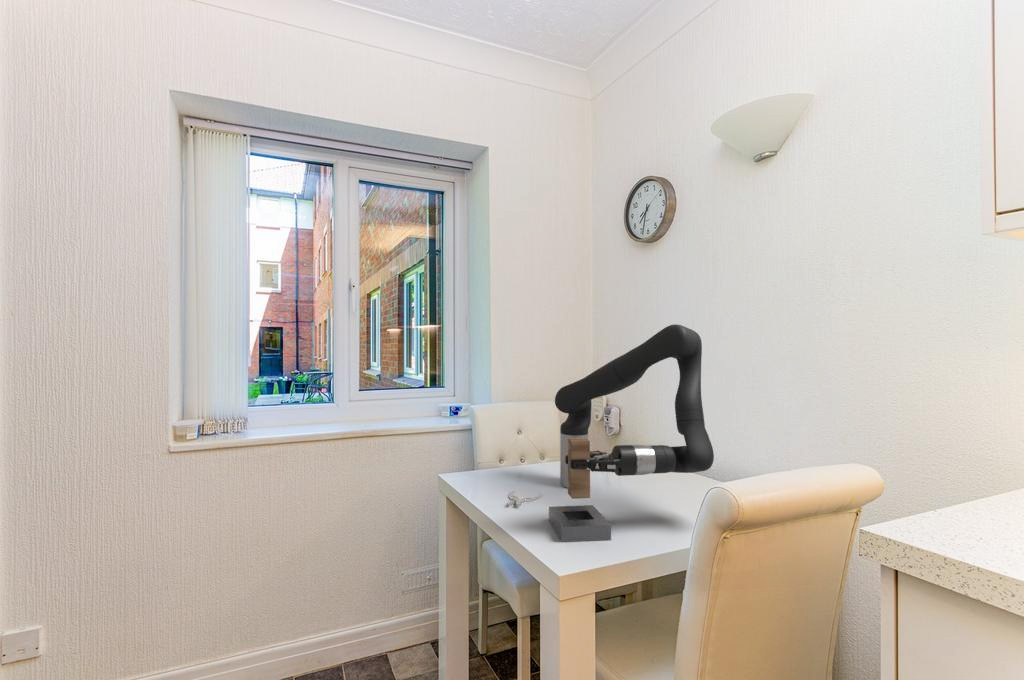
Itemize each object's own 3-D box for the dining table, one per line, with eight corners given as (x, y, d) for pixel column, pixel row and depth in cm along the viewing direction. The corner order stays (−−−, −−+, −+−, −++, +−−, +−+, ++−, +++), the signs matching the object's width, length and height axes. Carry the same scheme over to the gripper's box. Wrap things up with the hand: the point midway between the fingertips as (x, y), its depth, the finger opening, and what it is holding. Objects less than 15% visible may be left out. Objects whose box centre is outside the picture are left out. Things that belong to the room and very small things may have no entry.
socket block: (548, 520, 128) (548, 506, 128) (592, 518, 130) (592, 505, 130) (561, 542, 113) (561, 527, 114) (611, 540, 115) (611, 525, 115)
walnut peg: (568, 493, 124) (567, 438, 124) (585, 492, 124) (584, 437, 125) (572, 498, 119) (571, 441, 120) (590, 498, 120) (589, 441, 120)
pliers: (542, 491, 151) (528, 505, 137) (542, 496, 151) (528, 511, 137) (512, 488, 154) (495, 501, 140) (512, 493, 154) (495, 507, 140)
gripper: (623, 440, 131) (561, 441, 129) (644, 450, 117) (574, 452, 115) (623, 468, 131) (561, 470, 129) (644, 482, 117) (575, 484, 114)
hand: (568, 462), depth 122 cm, fingers closed on walnut peg, 4 cm apart
